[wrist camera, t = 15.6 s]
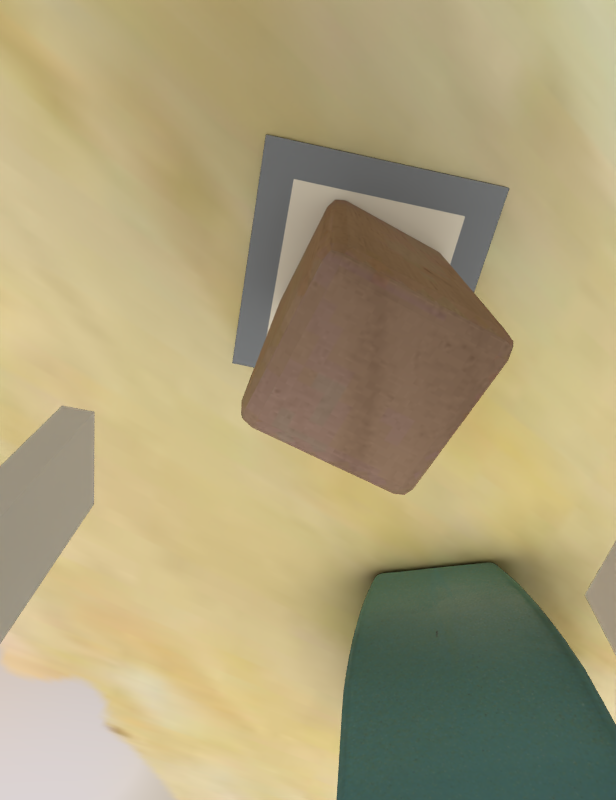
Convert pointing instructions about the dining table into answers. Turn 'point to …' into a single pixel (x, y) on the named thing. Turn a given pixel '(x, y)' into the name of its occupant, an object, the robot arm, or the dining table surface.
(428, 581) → the flower pot
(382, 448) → the wooden block
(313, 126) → the dining table surface
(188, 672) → the dining table surface
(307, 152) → the mat
